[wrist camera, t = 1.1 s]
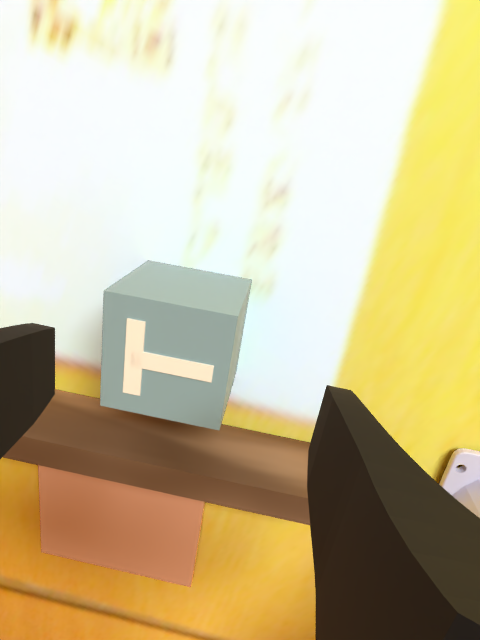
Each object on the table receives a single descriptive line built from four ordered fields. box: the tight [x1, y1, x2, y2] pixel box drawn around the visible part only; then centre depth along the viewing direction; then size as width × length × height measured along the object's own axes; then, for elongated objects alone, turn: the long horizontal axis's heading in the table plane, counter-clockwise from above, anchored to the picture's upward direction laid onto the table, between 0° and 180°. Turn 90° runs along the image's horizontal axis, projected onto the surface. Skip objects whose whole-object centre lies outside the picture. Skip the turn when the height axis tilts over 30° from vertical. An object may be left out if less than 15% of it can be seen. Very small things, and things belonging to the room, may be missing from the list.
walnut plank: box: [3, 390, 310, 525], centre depth 21 cm, size 2×18×4 cm, turn 82°
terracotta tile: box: [38, 465, 205, 587], centre depth 25 cm, size 10×10×1 cm
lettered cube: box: [100, 260, 252, 430], centre depth 18 cm, size 5×5×5 cm
